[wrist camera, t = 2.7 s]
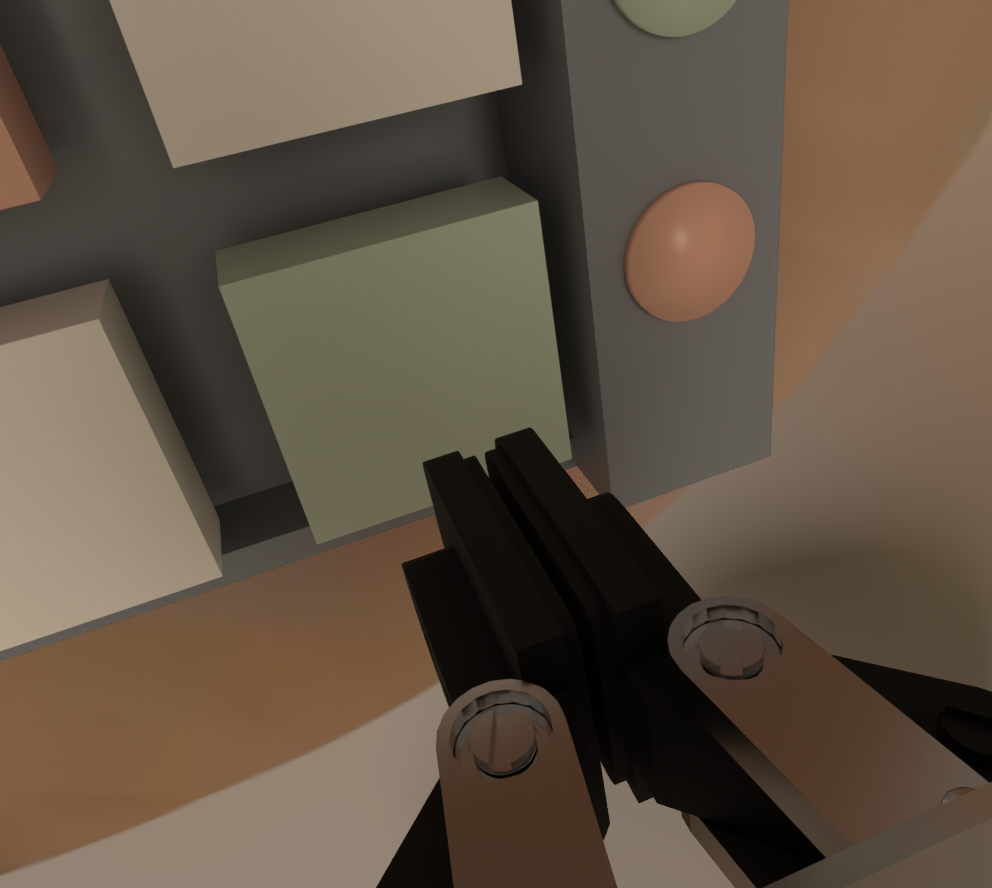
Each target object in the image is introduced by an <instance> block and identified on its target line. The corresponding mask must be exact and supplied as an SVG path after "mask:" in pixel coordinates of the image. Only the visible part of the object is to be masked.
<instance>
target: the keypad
mask: <svg viewBox="0 0 992 888" xmlns="http://www.w3.org/2000/svg"><path fill="white" fill-rule="evenodd" d="M511 3H512V10H513V18H514V25H515V33H516V40H517V48H518V56H519V63H520V71H521V78H522V85H518V86H514V87H510V88H506V89H501V90H497V91H493V92H489V93H485V94H481V95H476V96H472V97H468V98H464V99H460V100H456V101H451V102H447V103H443V104H439V105H435V106H431V107H426V108H422V109H418V110H414V111H410V112H406V113H402V114H397V115H393V116H389V117H385V118H381V119H377V120H372V121H368V122H364V123H360V124H356V125H352V126H347V127H343V128H339V129H335V130H331V131H327V132H323V133H318V134H314V135H310V136H306V137H302V138H298V139H293V140H289V141H285V142H281V143H277V144H273V145H268V146H264V147H260V148H256V149H252V150H248V151H243V152H239V153H235V154H231V155H227V156H223V157H219V158H214V159H210V160H206V161H202V162H198V163H194V164H189V165H185V166H181V167H177V168H173V166H172V163H171V161H170V158H169V155H168V153H167V150H166V148H165V145H164V142H163V140H162V137H161V134H160V132H159V129H158V127H157V124H156V121H155V119H154V116H153V114H152V111H151V108H150V106H149V103H148V100H147V98H146V95H145V93H144V90H143V87H142V85H141V82H140V79H139V77H138V74H137V72H136V69H135V66H134V64H133V61H132V58H131V56H130V53H129V51H128V48H127V45H126V43H125V40H124V37H123V35H122V32H121V30H120V27H119V24H118V22H117V19H116V16H115V14H114V11H113V9H112V6H111V3H110V1H109V0H0V44H1V46H2V49H3V51H4V53H5V55H6V57H7V59H8V62H9V64H10V66H11V68H12V70H13V72H14V75H15V77H16V79H17V81H18V83H19V85H20V88H21V90H22V92H23V94H24V96H25V98H26V101H27V103H28V105H29V107H30V109H31V112H32V114H33V116H34V118H35V120H36V122H37V125H38V127H39V129H40V131H41V133H42V135H43V138H44V140H45V142H46V144H47V146H48V148H49V151H50V153H51V155H52V157H53V159H54V161H55V164H56V166H57V168H58V170H59V173H58V174H57V176H56V177H55V179H54V181H53V182H52V184H51V185H50V187H49V188H48V190H47V192H46V193H45V195H44V196H43V198H42V199H41V200H40V201H36V202H31V203H27V204H23V205H19V206H15V207H11V208H6V209H2V210H0V307H3V306H7V305H11V304H15V303H18V302H22V301H26V300H30V299H34V298H37V297H41V296H45V295H49V294H53V293H57V292H60V291H64V290H68V289H72V288H76V287H79V286H83V285H87V284H91V283H95V282H99V281H102V280H106V279H109V281H110V283H111V285H112V287H113V289H114V291H115V294H116V296H117V298H118V300H119V302H120V304H121V307H122V309H123V311H124V313H125V315H126V317H127V320H128V322H129V324H130V326H131V328H132V331H133V333H134V335H135V337H136V339H137V341H138V344H139V346H140V348H141V350H142V352H143V354H144V357H145V359H146V361H147V363H148V365H149V367H150V370H151V372H152V374H153V376H154V378H155V380H156V383H157V385H158V387H159V389H160V391H161V393H162V396H163V398H164V400H165V402H166V404H167V406H168V409H169V411H170V413H171V415H172V417H173V419H174V422H175V424H176V426H177V428H178V430H179V432H180V435H181V437H182V439H183V441H184V443H185V445H186V448H187V450H188V452H189V454H190V456H191V458H192V461H193V463H194V465H195V467H196V469H197V471H198V474H199V476H200V478H201V480H202V482H203V484H204V487H205V489H206V491H207V493H208V495H209V497H210V500H211V502H212V504H213V506H214V508H215V510H216V513H217V515H218V517H219V519H220V537H221V554H222V571H223V576H222V577H220V578H217V579H214V580H211V581H208V582H205V583H202V584H199V585H196V586H193V587H190V588H187V589H184V590H181V591H178V592H175V593H172V594H169V595H166V596H163V597H160V598H157V599H154V600H151V601H148V602H145V603H142V604H139V605H136V606H133V607H130V608H127V609H125V610H122V611H119V612H116V613H113V614H110V615H107V616H104V617H101V618H98V619H95V620H92V621H89V622H86V623H83V624H80V625H77V626H74V627H71V628H68V629H65V630H62V631H59V632H56V633H53V634H50V635H47V636H44V637H41V638H38V639H35V640H32V641H30V642H27V643H24V644H21V645H18V646H15V647H12V648H9V649H6V650H3V651H0V661H2V660H5V659H8V658H11V657H14V656H17V655H20V654H23V653H26V652H29V651H32V650H35V649H38V648H40V647H43V646H46V645H49V644H52V643H55V642H58V641H61V640H64V639H67V638H70V637H73V636H76V635H79V634H82V633H85V632H88V631H91V630H94V629H97V628H99V627H102V626H105V625H108V624H111V623H114V622H117V621H120V620H123V619H126V618H129V617H132V616H135V615H138V614H141V613H144V612H147V611H150V610H153V609H156V608H159V607H161V606H164V605H167V604H170V603H173V602H176V601H179V600H182V599H185V598H188V597H191V596H194V595H197V594H200V593H203V592H206V591H209V590H212V589H215V588H218V587H220V586H223V585H226V584H229V583H232V582H235V581H238V580H241V579H244V578H247V577H250V576H253V575H256V574H259V573H262V572H265V571H268V570H271V569H274V568H277V567H279V566H282V565H285V564H288V563H291V562H294V561H297V560H300V559H303V558H306V557H309V556H312V555H315V554H318V553H321V552H324V551H327V550H330V549H333V548H336V547H338V546H341V545H344V544H347V543H350V542H353V541H356V540H359V539H362V538H365V537H368V536H371V535H374V534H377V533H380V532H383V531H386V530H389V529H392V528H395V527H397V526H400V525H403V524H406V523H409V522H412V521H415V520H418V519H421V518H424V517H427V516H430V515H433V514H435V511H434V507H433V506H430V507H427V508H424V509H421V510H418V511H415V512H413V513H410V514H407V515H404V516H401V517H398V518H395V519H392V520H389V521H386V522H383V523H380V524H377V525H374V526H371V527H368V528H365V529H362V530H359V531H356V532H353V533H350V534H347V535H344V536H341V537H338V538H335V539H332V540H329V541H326V542H323V543H320V544H316V541H315V538H314V536H313V533H312V530H311V528H310V525H309V523H308V520H307V517H306V515H305V512H304V509H303V507H302V504H301V502H300V499H299V496H298V494H297V491H296V488H295V486H294V483H293V481H292V478H291V475H290V473H289V470H288V468H287V465H286V462H285V460H284V457H283V454H282V452H281V449H280V447H279V444H278V441H277V439H276V436H275V433H274V431H273V428H272V426H271V423H270V420H269V418H268V415H267V412H266V410H265V407H264V405H263V402H262V399H261V397H260V394H259V391H258V389H257V386H256V384H255V381H254V378H253V376H252V373H251V370H250V368H249V365H248V363H247V360H246V357H245V355H244V352H243V350H242V347H241V344H240V342H239V339H238V336H237V334H236V331H235V329H234V326H233V323H232V321H231V318H230V315H229V313H228V310H227V308H226V305H225V302H224V300H223V297H222V294H221V292H220V289H219V286H218V276H217V266H216V256H215V251H217V250H221V249H225V248H229V247H232V246H236V245H240V244H244V243H248V242H251V241H255V240H259V239H263V238H267V237H271V236H274V235H278V234H282V233H286V232H290V231H294V230H297V229H301V228H305V227H309V226H313V225H316V224H320V223H324V222H328V221H332V220H336V219H339V218H343V217H347V216H351V215H355V214H358V213H362V212H366V211H370V210H374V209H378V208H381V207H385V206H389V205H393V204H397V203H401V202H404V201H408V200H412V199H416V198H420V197H423V196H427V195H431V194H435V193H439V192H443V191H446V190H450V189H454V188H458V187H462V186H465V185H469V184H473V183H477V182H481V181H485V180H488V179H492V178H496V177H500V176H501V177H503V178H504V179H506V180H507V181H509V182H510V183H512V184H514V185H515V186H517V187H518V188H520V189H521V190H523V191H524V192H526V193H527V194H529V195H530V196H532V197H533V198H535V199H536V200H538V206H539V214H540V221H541V229H542V236H543V244H544V251H545V259H546V266H547V274H548V281H549V289H550V296H551V304H552V311H553V319H554V327H555V334H556V342H557V349H558V357H559V364H560V372H561V379H562V387H563V394H564V402H565V409H566V417H567V424H568V432H569V439H570V447H571V454H572V459H570V460H567V461H564V462H561V463H560V465H561V466H562V467H563V468H564V470H566V469H569V468H572V467H574V466H578V468H579V469H580V470H581V471H582V473H583V474H584V475H585V476H586V478H587V479H588V480H589V482H590V483H591V484H592V485H593V487H594V488H595V489H596V490H597V492H598V493H599V494H603V493H606V492H608V493H612V494H613V495H614V496H615V497H616V498H617V499H618V500H619V501H620V502H621V504H622V505H623V506H624V507H628V506H630V505H633V504H636V503H639V502H642V501H645V500H647V499H650V498H653V497H656V496H659V495H662V494H664V493H667V492H670V491H673V490H676V489H678V488H681V487H684V486H687V485H690V484H693V483H695V482H698V481H701V480H704V479H706V478H710V477H712V476H715V475H718V474H721V473H724V472H727V471H729V470H731V469H735V468H738V467H741V466H743V465H746V464H749V463H752V462H755V461H758V460H760V459H763V458H766V457H769V456H770V454H771V429H772V403H773V377H774V351H775V324H776V298H777V272H778V246H779V220H780V194H781V168H782V142H783V116H784V90H785V63H786V37H787V11H788V0H511Z"/></svg>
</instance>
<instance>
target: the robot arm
mask: <svg viewBox="0 0 992 888" xmlns="http://www.w3.org/2000/svg"><path fill="white" fill-rule="evenodd" d="M485 461H486V466H487V470H488V475H489V477H488V475H487V474H486V472H485V470H484V469H483V467H482V465H481V464H480V462H479V460H478V459H477V457H476V456H471V457H468V458H465V459H463V457H462V455H461V454H460V452H459V451H455V452H452V453H449V454H446V455H443V456H439V457H436V458H433V459H430V460H427V461H424V462H423V469H424V473H425V477H426V481H427V485H428V488H429V492H430V496H431V500H432V503H433V507H434V511H435V515H436V518H437V522H438V526H439V530H440V533H441V537H442V541H443V545H444V548H445V549H442V550H439V551H436V552H433V553H430V554H427V555H425V556H422V557H419V558H416V559H413V560H410V561H407V562H404V563H402V567H403V571H404V574H405V578H406V581H407V584H408V587H409V591H410V594H411V597H412V600H413V603H414V607H415V610H416V613H417V616H418V619H419V622H420V625H421V628H422V631H423V634H424V637H425V640H426V643H427V646H428V649H429V652H430V655H431V658H432V661H433V663H434V666H435V669H436V672H437V675H438V678H439V680H440V683H441V686H442V688H443V692H444V695H445V697H446V700H447V703H448V706H449V709H448V710H447V711H446V712H445V714H444V716H443V718H442V720H441V723H440V725H439V728H438V730H437V742H436V751H437V760H438V767H439V775H440V778H439V780H438V782H437V783H436V785H435V787H434V789H433V790H432V792H431V794H430V795H429V797H428V799H427V800H426V802H425V804H424V806H423V807H422V809H421V811H420V813H419V814H418V816H417V818H416V820H415V821H414V823H413V825H412V826H411V828H410V830H409V832H408V833H407V835H406V837H405V839H404V840H403V842H402V844H401V845H400V847H399V849H398V851H397V852H396V854H395V856H394V858H393V859H392V861H391V863H390V865H389V866H388V868H387V870H386V871H385V873H384V875H383V877H382V878H381V880H380V882H379V884H378V885H377V887H376V888H617V885H616V882H615V878H614V875H613V872H612V869H611V865H610V862H609V859H608V855H607V852H606V849H605V846H604V842H603V840H604V838H605V835H606V833H607V830H608V827H609V825H610V821H609V814H608V808H607V801H606V795H605V789H604V782H603V776H602V769H601V763H602V765H603V767H604V769H605V770H606V772H607V774H608V776H609V778H610V780H611V781H612V782H613V784H615V785H616V784H618V783H620V782H623V781H627V782H628V784H629V786H630V788H631V790H632V792H633V794H634V795H635V797H636V799H637V801H638V803H641V802H643V801H646V800H648V799H650V798H652V797H654V799H655V800H656V802H657V803H658V804H661V805H664V806H667V807H670V808H674V809H676V810H679V811H681V814H682V818H683V820H684V821H685V823H686V825H687V826H688V828H689V830H690V832H691V833H692V834H693V836H694V837H695V838H696V839H697V840H698V842H699V843H700V844H701V846H702V847H703V848H704V849H705V851H706V852H707V853H708V855H709V856H710V857H711V858H712V860H713V861H714V862H715V863H716V865H717V866H718V867H719V868H720V870H721V871H722V872H723V873H724V874H725V876H726V877H727V878H728V880H729V881H730V882H731V883H732V885H733V886H734V887H735V888H992V692H991V691H988V690H985V689H982V688H978V687H973V686H969V685H965V684H961V683H956V682H951V681H947V680H943V679H938V678H933V677H929V676H925V675H920V674H916V673H911V672H907V671H902V670H898V669H893V668H888V667H884V666H879V665H875V664H870V663H866V662H862V661H857V660H853V659H848V658H844V657H839V656H835V655H830V654H829V653H828V652H827V651H826V650H824V649H823V648H822V647H821V646H819V645H818V644H817V643H815V642H814V641H813V640H812V639H811V638H809V637H808V636H807V635H805V634H804V633H803V632H802V631H801V630H799V629H798V628H797V627H795V625H793V624H792V623H791V622H790V621H788V620H787V619H786V618H784V617H783V616H782V615H781V614H780V613H778V612H776V611H775V610H773V609H772V608H770V607H768V606H767V605H765V604H763V603H760V602H757V601H754V600H751V599H748V598H744V597H733V596H720V597H712V598H706V599H704V600H701V599H700V598H699V597H698V595H697V594H696V593H695V592H694V591H693V589H692V588H691V587H690V586H689V584H688V583H687V582H686V581H685V580H684V578H683V577H682V576H681V575H680V574H679V572H678V571H677V570H676V569H675V568H674V566H673V565H672V564H671V563H670V562H669V560H668V559H667V558H666V557H665V556H664V554H663V553H662V552H661V551H660V549H659V548H658V547H657V546H656V545H655V543H654V542H653V541H652V540H651V539H650V538H649V537H648V535H647V534H646V533H645V531H644V530H643V529H642V528H641V527H640V525H639V524H638V523H637V522H636V521H635V519H634V518H633V517H632V516H631V515H630V513H629V512H628V511H627V510H626V509H625V507H624V506H623V505H622V504H621V502H620V501H619V500H618V499H617V498H616V497H615V496H614V495H613V494H612V493H608V492H606V493H603V494H600V495H597V496H595V497H592V498H589V499H587V498H586V497H585V496H584V494H583V493H582V492H581V491H580V489H579V488H578V487H577V485H576V484H575V483H574V481H573V480H572V479H571V478H570V476H569V475H568V474H567V472H566V471H565V470H564V468H563V467H562V466H561V465H560V463H559V462H558V461H557V459H556V458H555V457H554V455H553V454H552V453H551V452H550V450H549V449H548V448H547V446H546V445H545V444H544V442H543V441H542V440H541V439H540V437H539V436H538V435H537V433H536V432H535V431H534V430H533V429H532V428H530V427H529V428H526V429H523V430H520V431H516V432H513V433H510V434H507V435H504V436H501V437H498V438H496V439H495V449H492V450H489V451H486V452H485ZM600 761H601V763H600Z"/></svg>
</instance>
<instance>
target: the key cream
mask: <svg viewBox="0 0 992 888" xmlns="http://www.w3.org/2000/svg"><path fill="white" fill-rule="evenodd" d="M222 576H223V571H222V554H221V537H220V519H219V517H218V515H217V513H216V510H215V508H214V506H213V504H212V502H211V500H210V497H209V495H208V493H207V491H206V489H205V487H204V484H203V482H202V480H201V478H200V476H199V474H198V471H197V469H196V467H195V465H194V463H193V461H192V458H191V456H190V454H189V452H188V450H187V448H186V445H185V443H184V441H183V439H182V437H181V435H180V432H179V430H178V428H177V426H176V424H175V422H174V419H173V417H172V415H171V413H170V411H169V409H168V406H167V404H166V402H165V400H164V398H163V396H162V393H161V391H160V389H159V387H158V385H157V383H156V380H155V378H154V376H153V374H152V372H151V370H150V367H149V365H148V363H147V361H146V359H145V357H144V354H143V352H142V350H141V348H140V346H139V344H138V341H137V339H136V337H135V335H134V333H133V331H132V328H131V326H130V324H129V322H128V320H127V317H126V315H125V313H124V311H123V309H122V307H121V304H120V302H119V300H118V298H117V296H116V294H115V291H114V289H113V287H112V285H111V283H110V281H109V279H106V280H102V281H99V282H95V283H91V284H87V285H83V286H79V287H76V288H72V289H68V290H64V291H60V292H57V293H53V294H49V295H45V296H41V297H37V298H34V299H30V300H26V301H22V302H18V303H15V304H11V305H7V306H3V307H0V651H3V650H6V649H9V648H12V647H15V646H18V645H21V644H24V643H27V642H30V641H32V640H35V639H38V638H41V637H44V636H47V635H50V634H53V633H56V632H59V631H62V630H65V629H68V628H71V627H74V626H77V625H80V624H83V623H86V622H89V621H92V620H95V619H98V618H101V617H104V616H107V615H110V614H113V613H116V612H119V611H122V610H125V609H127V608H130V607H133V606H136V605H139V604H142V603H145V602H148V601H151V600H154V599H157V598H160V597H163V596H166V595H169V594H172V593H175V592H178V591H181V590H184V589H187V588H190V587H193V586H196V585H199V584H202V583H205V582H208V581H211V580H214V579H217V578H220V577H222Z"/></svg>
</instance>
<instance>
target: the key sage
mask: <svg viewBox="0 0 992 888" xmlns="http://www.w3.org/2000/svg"><path fill="white" fill-rule="evenodd" d="M215 256H216V266H217V276H218V286H219V289H220V292H221V294H222V297H223V300H224V302H225V305H226V308H227V310H228V313H229V315H230V318H231V321H232V323H233V326H234V329H235V331H236V334H237V336H238V339H239V342H240V344H241V347H242V350H243V352H244V355H245V357H246V360H247V363H248V365H249V368H250V370H251V373H252V376H253V378H254V381H255V384H256V386H257V389H258V391H259V394H260V397H261V399H262V402H263V405H264V407H265V410H266V412H267V415H268V418H269V420H270V423H271V426H272V428H273V431H274V433H275V436H276V439H277V441H278V444H279V447H280V449H281V452H282V454H283V457H284V460H285V462H286V465H287V468H288V470H289V473H290V475H291V478H292V481H293V483H294V486H295V488H296V491H297V494H298V496H299V499H300V502H301V504H302V507H303V509H304V512H305V515H306V517H307V520H308V523H309V525H310V528H311V530H312V533H313V536H314V538H315V541H316V544H320V543H323V542H326V541H329V540H332V539H335V538H338V537H341V536H344V535H347V534H350V533H353V532H356V531H359V530H362V529H365V528H368V527H371V526H374V525H377V524H380V523H383V522H386V521H389V520H392V519H395V518H398V517H401V516H404V515H407V514H410V513H413V512H415V511H418V510H421V509H424V508H427V507H430V506H433V503H432V500H431V496H430V492H429V488H428V485H427V481H426V477H425V473H424V469H423V462H424V461H427V460H430V459H433V458H436V457H439V456H443V455H446V454H449V453H452V452H455V451H459V452H460V454H461V455H462V457H463V459H465V458H468V457H471V456H476V457H477V459H478V460H479V462H480V464H481V465H482V467H483V469H484V470H485V472H486V474H487V475H488V470H487V466H486V461H485V452H486V451H489V450H492V449H495V439H496V438H498V437H501V436H504V435H507V434H510V433H513V432H516V431H520V430H523V429H526V428H529V427H530V428H532V429H533V430H534V431H535V432H536V433H537V435H538V436H539V437H540V439H541V440H542V441H543V442H544V444H545V445H546V446H547V448H548V449H549V450H550V452H551V453H552V454H553V455H554V457H555V458H556V459H557V461H558V462H559V463H561V462H564V461H567V460H570V459H572V454H571V447H570V439H569V432H568V424H567V417H566V409H565V402H564V394H563V387H562V379H561V372H560V364H559V357H558V349H557V342H556V334H555V327H554V319H553V311H552V304H551V296H550V289H549V281H548V274H547V266H546V259H545V251H544V244H543V236H542V229H541V221H540V214H539V206H538V200H536V199H535V198H533V197H532V196H530V195H529V194H527V193H526V192H524V191H523V190H521V189H520V188H518V187H517V186H515V185H514V184H512V183H510V182H509V181H507V180H506V179H504V178H503V177H501V176H500V177H496V178H492V179H488V180H485V181H481V182H477V183H473V184H469V185H465V186H462V187H458V188H454V189H450V190H446V191H443V192H439V193H435V194H431V195H427V196H423V197H420V198H416V199H412V200H408V201H404V202H401V203H397V204H393V205H389V206H385V207H381V208H378V209H374V210H370V211H366V212H362V213H358V214H355V215H351V216H347V217H343V218H339V219H336V220H332V221H328V222H324V223H320V224H316V225H313V226H309V227H305V228H301V229H297V230H294V231H290V232H286V233H282V234H278V235H274V236H271V237H267V238H263V239H259V240H255V241H251V242H248V243H244V244H240V245H236V246H232V247H229V248H225V249H221V250H217V251H215ZM488 477H489V475H488Z"/></svg>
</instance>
